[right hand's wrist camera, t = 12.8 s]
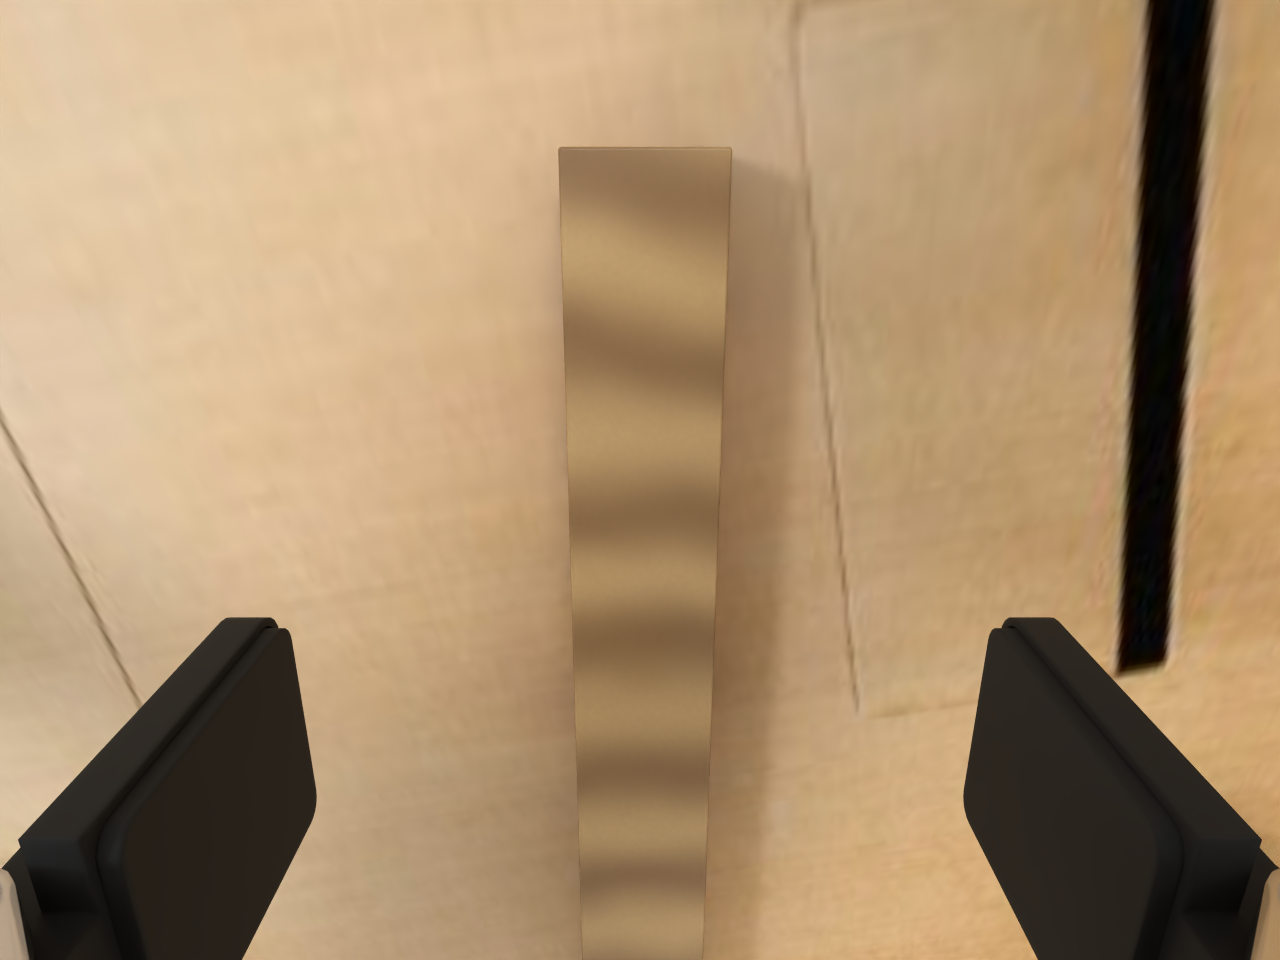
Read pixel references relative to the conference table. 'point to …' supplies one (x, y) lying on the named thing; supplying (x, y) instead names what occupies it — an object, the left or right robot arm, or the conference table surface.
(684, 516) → the beam
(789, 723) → the conference table surface
